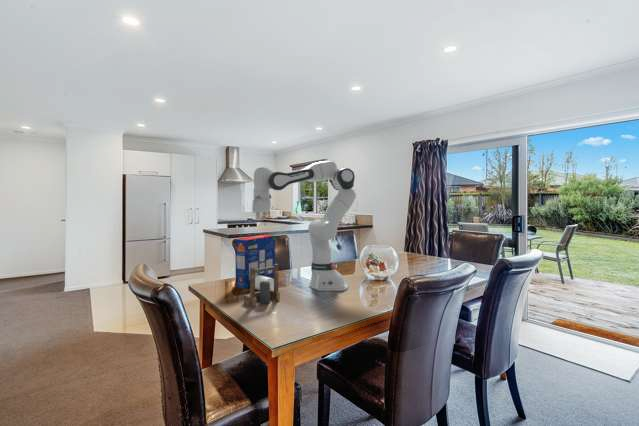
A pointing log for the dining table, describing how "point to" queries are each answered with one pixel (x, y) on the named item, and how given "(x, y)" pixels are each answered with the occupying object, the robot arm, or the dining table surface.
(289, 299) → the dining table surface
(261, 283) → the grey corked bottle
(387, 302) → the dining table surface
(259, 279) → the mug
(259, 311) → the dining table surface
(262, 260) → the pasta box
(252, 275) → the wooden rack frame
